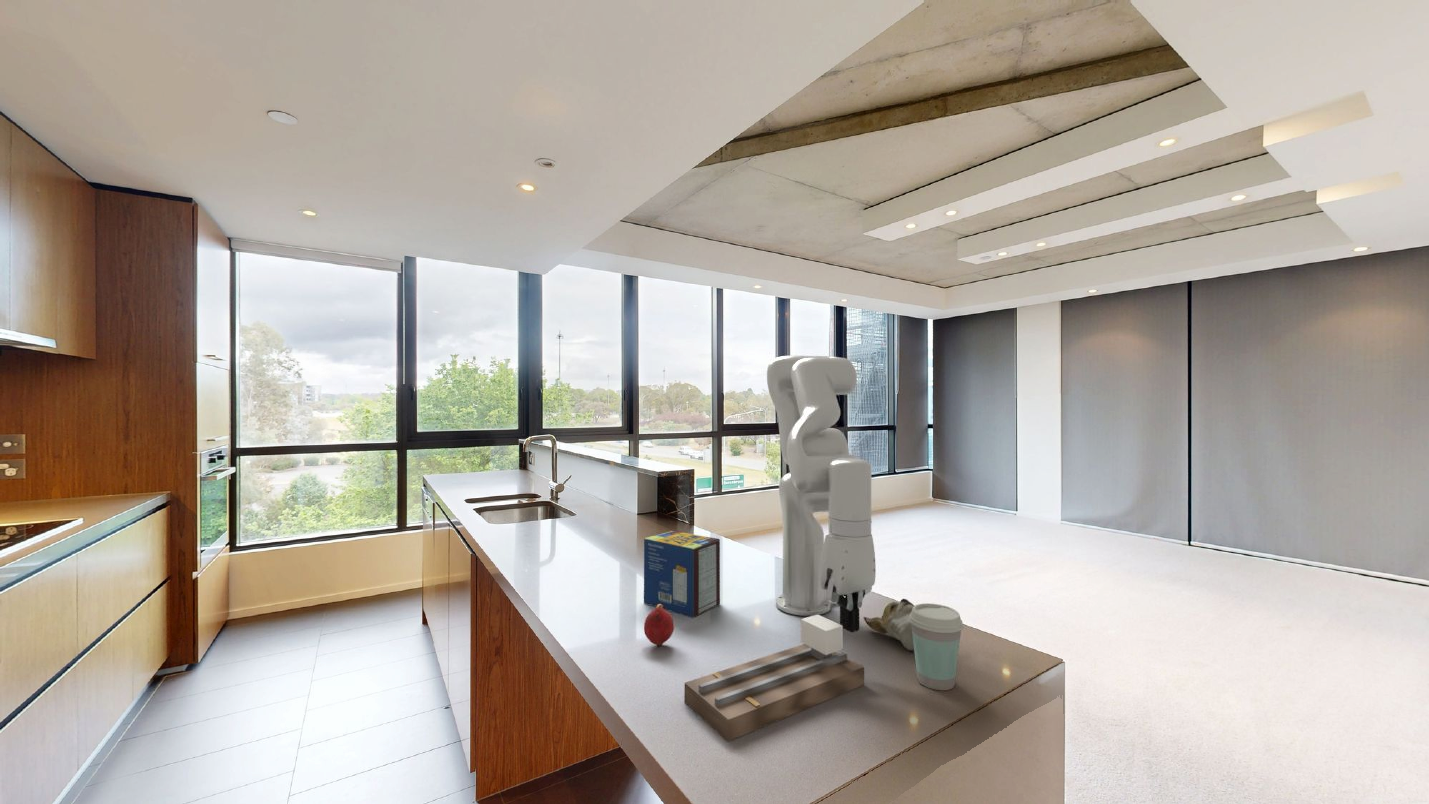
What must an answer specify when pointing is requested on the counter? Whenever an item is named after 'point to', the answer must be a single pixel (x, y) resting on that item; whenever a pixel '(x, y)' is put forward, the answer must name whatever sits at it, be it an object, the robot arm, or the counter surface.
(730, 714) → the linear slide rail
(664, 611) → the onion
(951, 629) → the coffee cup
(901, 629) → the ceramic sculpture
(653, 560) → the protein box
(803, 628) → the white block
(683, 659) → the counter surface
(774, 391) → the robot arm
